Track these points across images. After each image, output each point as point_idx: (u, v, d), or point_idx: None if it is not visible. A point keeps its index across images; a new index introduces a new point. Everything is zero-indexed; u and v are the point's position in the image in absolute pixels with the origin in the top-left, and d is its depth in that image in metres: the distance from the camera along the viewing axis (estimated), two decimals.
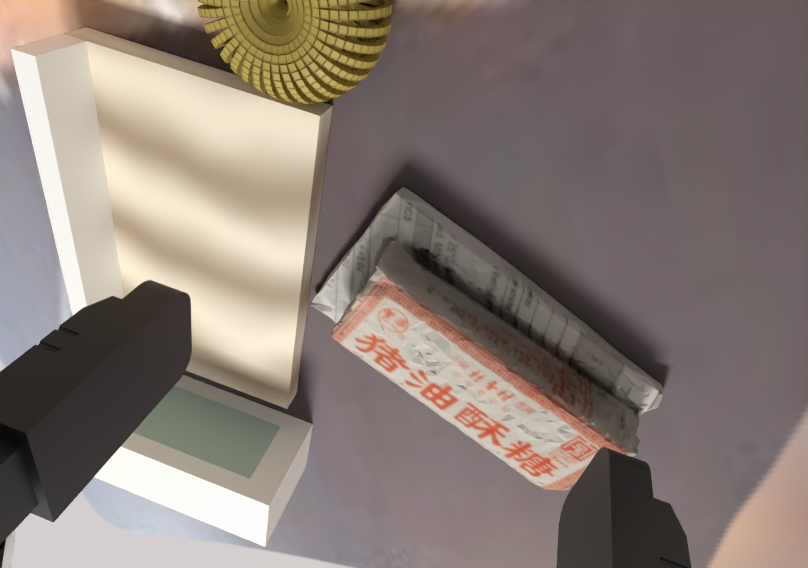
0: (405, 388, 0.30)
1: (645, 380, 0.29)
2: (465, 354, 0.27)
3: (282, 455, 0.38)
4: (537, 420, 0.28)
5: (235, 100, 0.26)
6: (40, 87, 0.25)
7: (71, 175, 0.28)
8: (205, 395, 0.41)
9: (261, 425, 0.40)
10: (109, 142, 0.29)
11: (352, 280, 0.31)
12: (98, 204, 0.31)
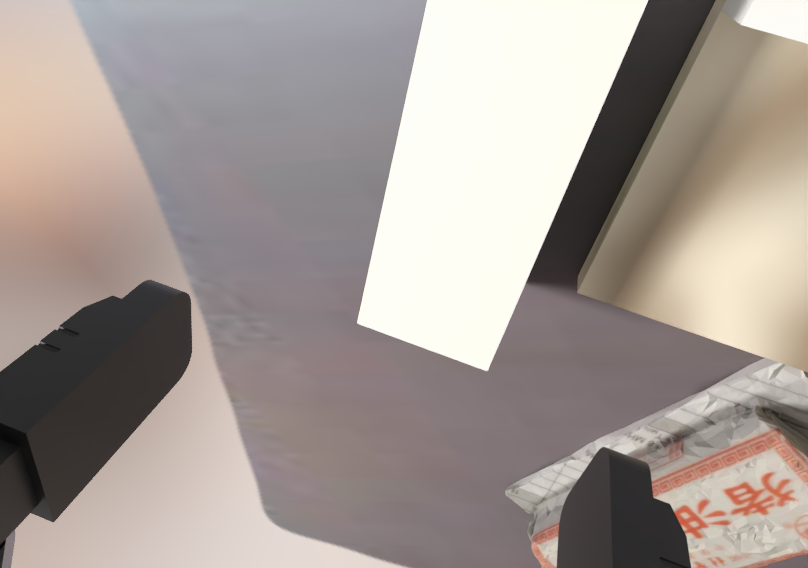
0: (690, 490, 0.26)
1: None
2: (751, 563, 0.27)
3: None
4: None
5: None
6: None
7: None
8: None
9: None
10: None
11: None
12: None
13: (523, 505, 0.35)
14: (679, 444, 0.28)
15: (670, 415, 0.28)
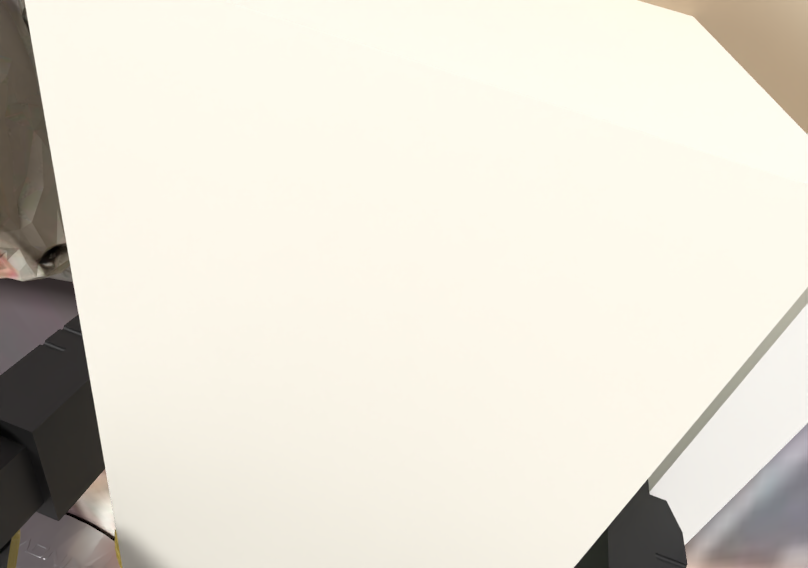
0: None
1: None
2: None
3: None
4: None
5: None
6: None
7: None
8: None
9: None
10: None
11: None
12: None
13: None
14: None
15: None
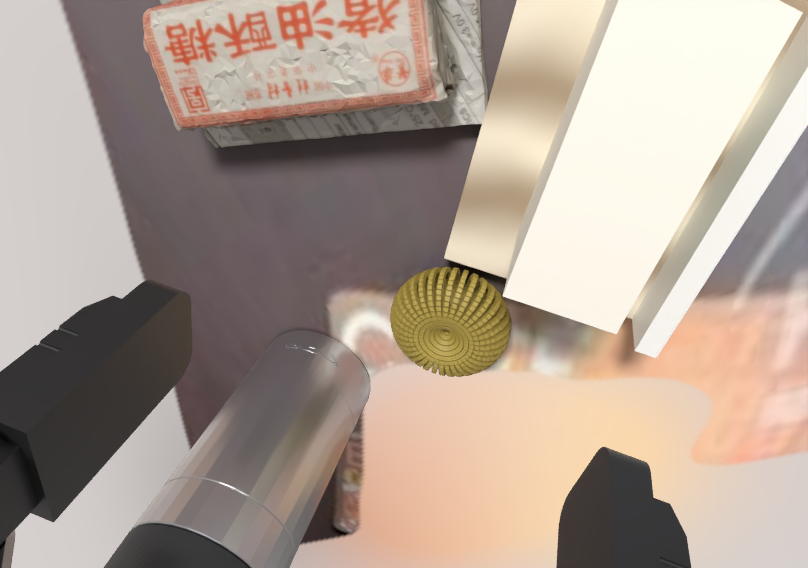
0: None
1: (233, 145, 0.35)
2: (328, 98, 0.28)
3: None
4: (236, 92, 0.30)
5: None
6: (647, 332, 0.30)
7: (686, 256, 0.28)
8: None
9: None
10: None
11: None
12: (707, 200, 0.28)
13: (164, 1, 0.31)
14: None
15: None
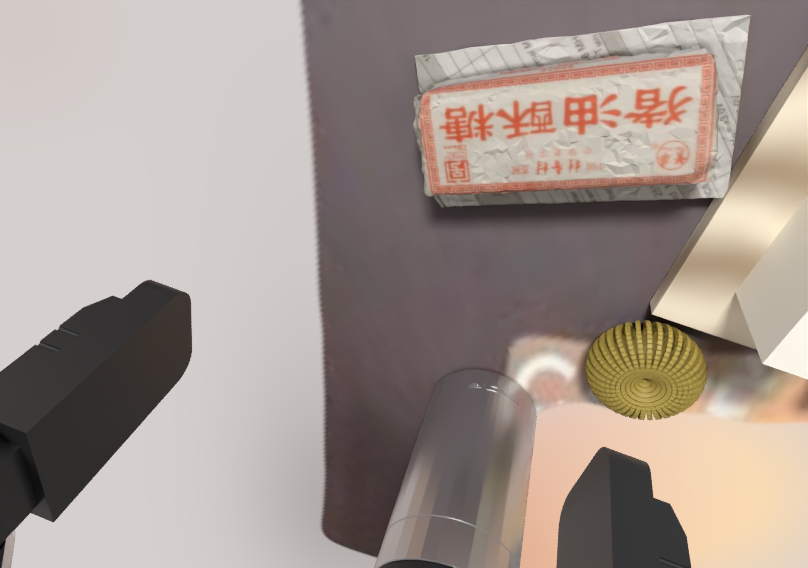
0: (609, 82, 0.29)
1: (459, 205, 0.38)
2: (597, 177, 0.31)
3: None
4: (502, 167, 0.32)
5: (716, 328, 0.37)
6: None
7: None
8: None
9: None
10: None
11: (719, 87, 0.30)
12: None
13: (422, 78, 0.34)
14: None
15: (623, 31, 0.30)
